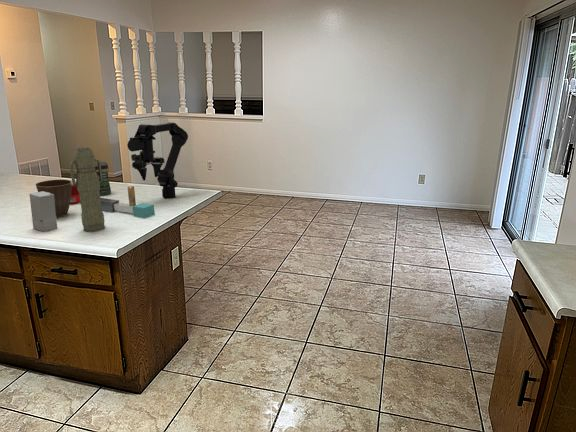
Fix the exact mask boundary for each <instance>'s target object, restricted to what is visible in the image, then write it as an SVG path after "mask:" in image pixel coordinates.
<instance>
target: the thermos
mask: <svg viewBox="0 0 576 432" xmlns="http://www.w3.org/2000/svg"><path fill="white" fill-rule="evenodd" d="M101 162H102V161H100V160H99V159H98V158H95V154H94V152H93V150H92V148H89V147H80V148H77V149H75V152H74V159H73V160H70V163H69V169H70V177H71V181H72V183H73V186H77V190H78V192H79V195H80V202H81V203H80V207H81V213H80V216H81V224H82V227H83V228H82V230H83V231H84V232H87V233H88V232H89V233H90V232H92V233H94V232H99V231H103V230H105V228H106V225H105V222H106V221H105V215H104V211H102V209H101V201H100V198H101V196H100V193H99V190H100V183H101V182H102V181H103V177H102V170H101ZM95 163H98V171H99V177H98V175H97V173H96V169H95V167H96V165H95ZM74 165H75V168H76V176H75V172H74V171H75V170H74ZM99 179H100V180H99ZM75 181H76V183H75Z"/></svg>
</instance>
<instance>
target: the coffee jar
mask: <svg viewBox="0 0 576 432" xmlns="http://www.w3.org/2000/svg"><path fill="white" fill-rule="evenodd" d="M100 162H101V170H102V177H103V181H102V182H101V183H100V190H99V193H100V197H101V196H108V195H111V194H112V188H111V186H110V180H109V179H110V178H109V165H108V163H107V162H106V161H100ZM95 165H96V167H95V169H96V173H97V175H98V177H99V171H98V163H97V162H95ZM99 180H100V179H99Z"/></svg>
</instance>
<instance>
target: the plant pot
mask: <svg viewBox="0 0 576 432" xmlns="http://www.w3.org/2000/svg"><path fill="white" fill-rule="evenodd" d="M71 181H72V180H69V179H48V180H43V181H39V182H37V183H35V186H36V190H37V191H36V192H42V191H44V192H48V193H51V194H54V200H55V211H56V218H61V217H65V216H67V215H68V212H69V208H70V206H71V205H70V199H71V186H72V182H71Z"/></svg>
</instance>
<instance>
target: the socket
mask: <svg viewBox="0 0 576 432" xmlns="http://www.w3.org/2000/svg"><path fill="white" fill-rule="evenodd" d="M132 208H133V213H132V216H133V217H134V218H139V219H147V218H149V217H152V216H153V215H155V213H156V212H155V204H154V203H147V202H146V203H145V202H141V203H137V204H136V205H135V206H132Z"/></svg>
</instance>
